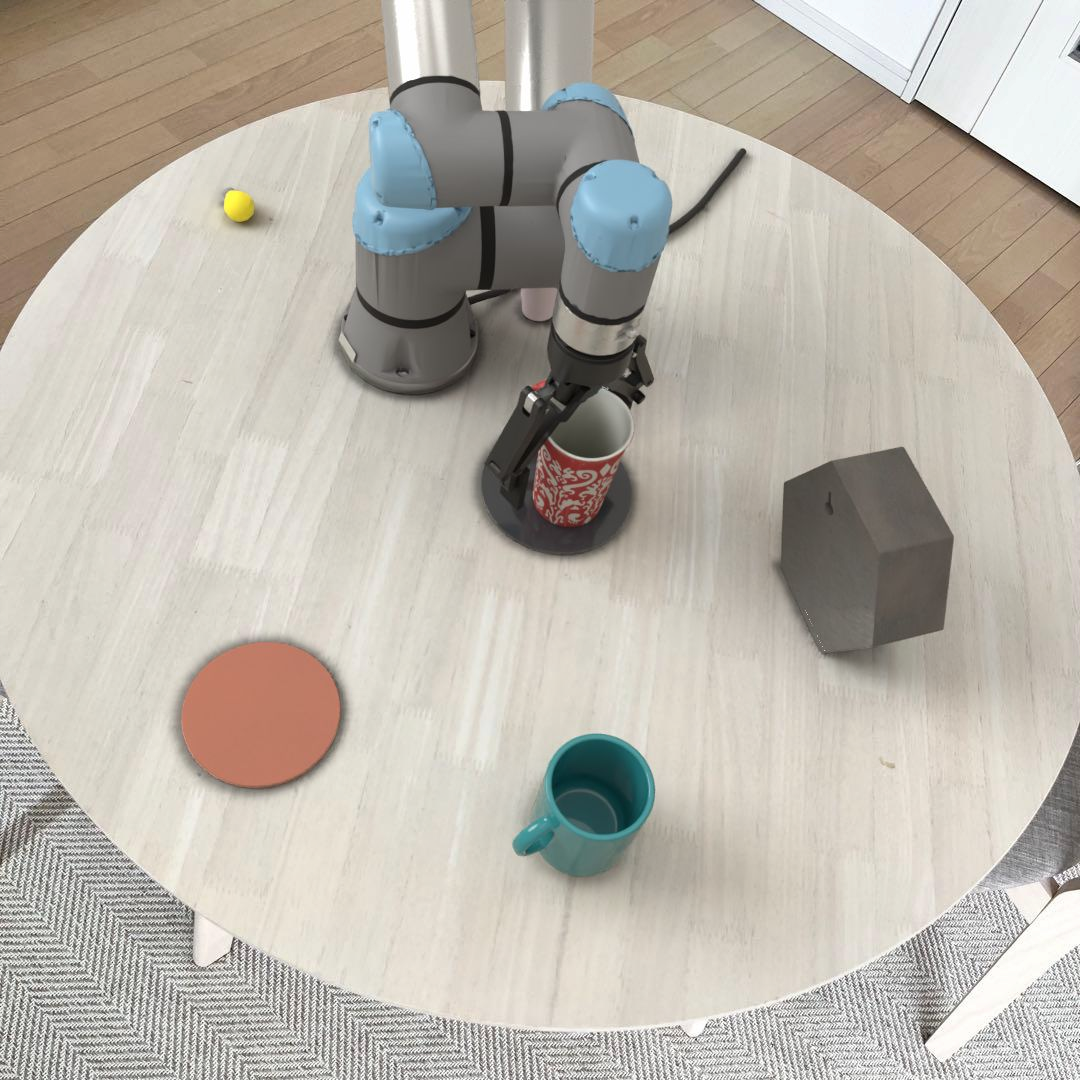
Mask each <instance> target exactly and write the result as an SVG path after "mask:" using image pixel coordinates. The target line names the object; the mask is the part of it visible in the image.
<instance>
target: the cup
mask: <svg viewBox="0 0 1080 1080" xmlns="http://www.w3.org/2000/svg"><path fill="white" fill-rule="evenodd" d="M655 799H656V783H655V778H654V774H653V772H652V770H651V767H650V765H649V763H648V761H647V760H646V758H645V757H644V756H643V754H641V753H640V751H639V750H638V749H637V748H635V746H633V745H632V744H630V743H629V742H628V741H626V740H624V739H622V738H619V737H617V736H614V735H611V734H606V733H586V734H582V735H577V736H576V737H574V738H572V739H569V740H568V741H566V742H565V743H563V744H562V745H561V746H560V747H559V748H558V749H557V750H556V751H555V752H554V754H553V755H552V757H551V758H550V761H549V762H548V765H547V767H546V771H545V773H544V775H543V779H542V782H541V784H540V787H539V790H538V792H537V795H536V798H535V801H534V803H533V804H534V805H533V807H532V810H531V814H530V824H529V825H527V826H526V827H524V828H523V829H522V830H521V831H520V832H519V833H517V835H516V836H515V837H514V838H513V839H512V842H511V845H512V849H513V852H514V853H515V855H517V856H518V857H522V858H524V857H528V856H531V855H534V854H536V853H539V854H540V856H541V857H542V858H543V860H544V861H546V863H548V865H550V866H551V867H552V868H554V869H555V870H557V871H559V872H560V873H563V874H565V875H569V876H573V877H583V878H586V877H594V876H598V875H601V874H603V873H606V872H607V871H609V870H611V869H613V867H615V866H616V865H617V864H618V863H619V862H620V861H621V860H622V859H623V857H624V856H625V854H626V853H627V852H628V850H629V848H630V847H631V845H632V843H633V842H634V840H635V839H636V837H637V836H638V834H639V832H640V831H641V829H643V826H644V825H645V823H646V822H647V820H648V819H649V817H650V816H651V813H652V811H653V808H654V805H655Z"/></svg>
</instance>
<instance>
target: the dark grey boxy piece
mask: <svg viewBox="0 0 1080 1080" xmlns="http://www.w3.org/2000/svg"><path fill="white" fill-rule="evenodd" d="M782 489H783V490H782V514H781V515H782V517H781V539H780V540H781V543H780V570H781V573H782V574H783V576H784V578H785V580H786V583H787V585H788V588H789V589H790V591H791V593H792V595H793V597H794V600H795V602H796V604H797V606H798V608H799V610H800V612H801V615H802V617H803V620H804V621H805V623H806V625H807V628H808V630H809V632H810V634H811V636H812V638H813V640H814V642H815V645H816V647H817V649H818V651H819V653H821V654H825V653H826V654H828V653H836V652H837V653H838V652H845V651H846V652H847V651H855V650H863V649H864V650H865V649H871V648H876V647H880V646H884V645H885V646H886V645H888V644H892V643H897V642H901V641H904V640H908V639H912V638H916V637H921V636H925V635H928V634H932V633H937V632H941V631H943V630H944V628H945V621H946V611H947V603H948V594H949V585H950V576H951V569H952V560H953V551H954V542H955V536H954V533H953V532H952V530H951V528H950V526H949V525H948V523H947V520H946V519H945V517H944V516H943V514H942V512H941V510H940V508H939V507H938V505H937V503H936V501H935V499H934V498H933V496H932V494H931V493H930V490H929V488H928V487H927V486H926V484H925V482H924V480H923V478H922V476H921V475H920V472H919V471H918V470H917V468H916V466H915V464H914V462H913V460H912V458H911V457H910V455H909V453H908V452H907V450H906V448H905V447H904V446H898V447H893V448H887V449H882V450H878V451H872V452H868V453H863V454H858V455H853V456H848V457H847V456H846V457H843V458H838V459H833V460H830V461H827V462H825V463H823V464H821V465H818V466H817V467H814V468H812V469H810V470H807V471H806V472H803V473H801V474H799V475H797V476H794V477H793V478H790V479H788V480H786V481H784V482H783V486H782ZM805 610H806V611H805ZM806 612H807V613H806ZM807 614H808V615H807ZM809 619H810V620H809ZM810 621H811V622H810ZM811 623H812V624H811ZM812 625H813V626H812ZM817 635H818V637H817ZM819 640H820V641H819ZM820 642H821V643H820ZM822 646H823V647H822ZM824 650H825V651H824Z"/></svg>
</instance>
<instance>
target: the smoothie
mask: <svg viewBox="0 0 1080 1080" xmlns="http://www.w3.org/2000/svg"><path fill="white" fill-rule="evenodd" d="M557 290H558V289H557V288H522V289H520V298H521V311H522V314H523V315H524V316H525V317H526V318H527V319H529V320H531V321H535V322H545V321H547V320H550V319H551V318H553V309H554V304H555V300H556V295H557Z"/></svg>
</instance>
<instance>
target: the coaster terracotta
mask: <svg viewBox="0 0 1080 1080" xmlns="http://www.w3.org/2000/svg"><path fill="white" fill-rule="evenodd" d="M340 720H341V699H340V695H339V691H338V688H337V685H336V683H335V681H334V678H333V677H332V675H331V673H330V672H329V670H328V669H327V668H326V666H325V665H323V663H321V661H320V660H318V659H317V658H316V657H315V656H313V654H310V653H309V652H307V651H305V650H303V649H301V648H299V647H296V646H294V645H290V644H287V643H282V642H276V641H275V642H274V641H260V642H257V641H256V642H252V643H251V642H250V643H246V644H243V645H239V646H236V647H233V648H231V649H229V650H227V651H225V652H223V653H221V654H220V655H217V656H216V657H215V658H214V659H212V660H211V661H210V662H208V663H207V665H205V666H204V667H203V668H202V669H201V670H200V671H199V673H198V674H197V675H196V677H194V679H193V681H192V682H191V684H190V685H189V687H188V690H187V692H186V694H185V698H184V700H183V703H182V709H181V722H180V723H181V724H180V725H181V731H182V736H183V739H184V742H185V746H186V747H187V749H188V751H189V753H190V755H191V757H192V758H193V759H194V761H195V762H196V763H197V764H198V765H199V767H200V768H201V769H203V770H204V771H205V772H206V773H208V774H209V775H211V776H212V777H214V778H215V779H217V780H219V781H221V782H224V783H225V784H229V785H232V786H235V787H241V788H246V789H247V788H250V789H260V788H261V789H263V788H270V787H275V786H279V785H282V784H285V783H288V782H290V781H291V782H292V781H293V780H295V779H297V778H299V777H300V776H302V775H304V774H305V773H307V772H308V771H309V770H311V769H312V768H313V767H315V765H317V763H319V761H320V760H321V759H322V758H323V757H324V756H325V755H326V753H327V752H328V750H329V749H330V747H332V743H333V742H334V740H335V738H336V736H337V732H338V730H339V725H340Z"/></svg>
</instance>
